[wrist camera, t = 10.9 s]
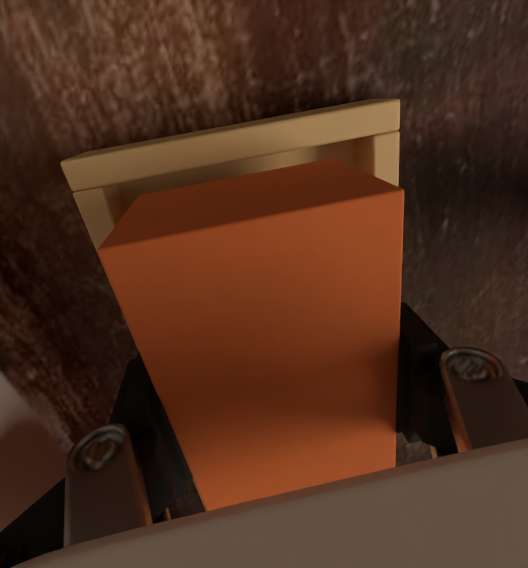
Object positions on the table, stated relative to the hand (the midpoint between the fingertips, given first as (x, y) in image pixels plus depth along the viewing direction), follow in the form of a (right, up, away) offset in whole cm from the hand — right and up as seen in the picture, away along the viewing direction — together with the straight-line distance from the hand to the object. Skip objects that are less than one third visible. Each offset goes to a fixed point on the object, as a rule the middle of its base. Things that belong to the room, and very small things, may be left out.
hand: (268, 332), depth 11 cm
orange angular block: (0, 0, 0) cm, 0 cm away
